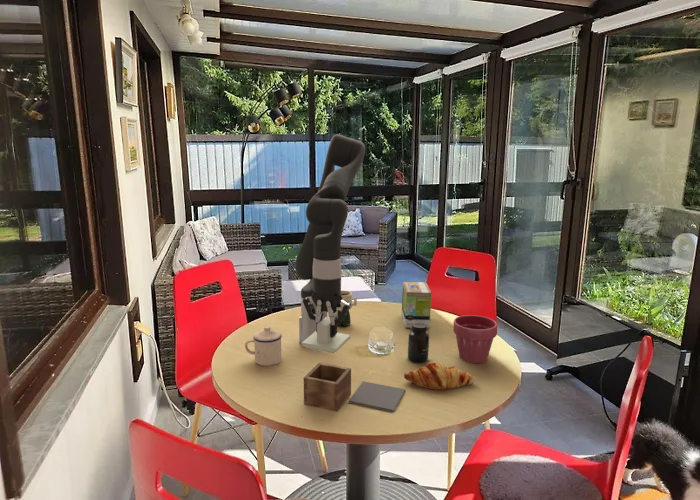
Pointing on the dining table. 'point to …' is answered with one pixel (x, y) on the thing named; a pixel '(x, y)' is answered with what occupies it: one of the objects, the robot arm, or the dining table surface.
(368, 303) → the dining table surface
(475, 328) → the plant pot
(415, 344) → the supplement bottle
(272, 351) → the teacup with lid
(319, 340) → the lid
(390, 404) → the rubber pad
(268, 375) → the dining table surface
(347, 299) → the character mug
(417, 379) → the croissant
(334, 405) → the walnut box
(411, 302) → the tea box
